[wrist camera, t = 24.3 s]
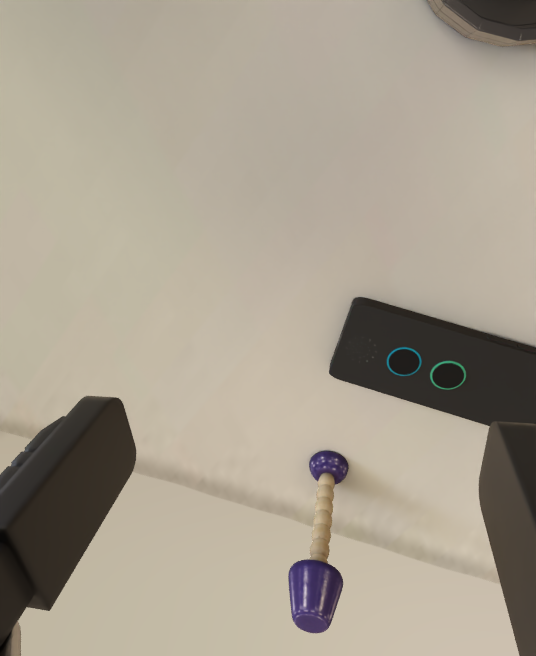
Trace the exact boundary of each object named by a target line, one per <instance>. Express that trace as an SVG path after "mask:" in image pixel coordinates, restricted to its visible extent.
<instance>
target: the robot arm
mask: <svg viewBox="0 0 536 656" xmlns="http://www.w3.org/2000/svg"><path fill="white" fill-rule="evenodd" d="M135 461H136V447H135V443H134V440H133V436H132V433H131V429H130V426H129V422H128V419H127V415H126V412H125V409H124V405H123V403H122V401H121V400H120V399H119V398H114V397H98V396H86V397H84V398H82V399H81V400H80V401H79V402H78V403H77V404H76V406H75V407H74V408H73V409H72V410H71V411H70V412H69V413H68V414H67V416H66V417H65V416H62V417H61V418H59V419H58V420H56V421H55V422H53V423H52V424H50V425H49V426H47V427H46V428H44V429H43V430H41V431H40V432H39V433H38V434H37V435H36V437H35V438H34V439H33V440H32V441H31V442H30V443H29V444H28V445H27V446H26V447H25V451H24V452H21V453H20V454H19V455H18V456H17V457H16V458H15V459H14V460H13V461H12V465H11V466H8V467H7V468H6V469H5V470H4V471H3V472H2V473H1V475H0V656H21V631H20V625H19V623H18V620H19V618H20V616H21V615H22V613H23V612H24V610H25V608H26V607H30V608H36V609H42V610H48V611H50V609H51V608H52V606H53V604H54V603H55V601H56V599H57V598H58V596H59V594H60V593H61V591H62V589H63V587H64V586H65V584H66V583H67V581H68V579H69V578H70V576H71V574H72V572H73V571H74V569H75V567H76V566H77V564H78V562H79V561H80V559H81V557H82V556H83V554H84V552H85V551H86V549H87V547H88V546H89V544H90V542H91V541H92V539H93V537H94V536H95V534H96V532H97V531H98V529H99V527H100V526H101V524H102V522H103V521H104V519H105V517H106V515H107V514H108V512H109V510H110V508H111V507H112V505H113V504H114V502H115V500H116V499H117V497H118V495H119V494H120V492H121V490H122V488H123V487H124V485H125V484H126V482H127V480H128V479H129V477H130V475H131V473H132V471H133V469H134V465H135ZM479 499H480V506H481V511H482V515H483V518H484V522H485V526H486V530H487V534H488V537H489V541H490V545H491V549H492V552H493V556H494V560H495V564H496V568H497V571H498V575H499V579H500V583H501V587H502V590H503V594H504V598H505V602H506V605H507V609H508V613H509V617H510V621H511V625H512V628H513V632H514V636H515V640H516V643H517V647H518V651H519V655H520V656H536V424H530V423H513V422H497V421H494V422H492V423H491V425H490V428H489V432H488V437H487V442H486V447H485V452H484V457H483V462H482V467H481V472H480V477H479Z"/></svg>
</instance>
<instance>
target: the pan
mask: <svg viewBox="0 0 536 656" xmlns="http://www.w3.org/2000/svg"><path fill="white" fill-rule="evenodd" d="M427 2H428V3H429V5H430V7H431V8H432V10H433V11H434V13H435V14H436V15H437V16H438V17H439V18H441V19H442V20H443V21H444V22H446V23H447V24H448V25H450V26H451V27H452V28H454V29H455V30H456V31H458V32H459V33H460V34H462V35H463V36H464V37H466V38H470V39H474V40H478V41H481V42H485V43H489V44H493V45H497V46H500V47H501V46H502V47H505V46H515V45H525V44H535V43H536V0H427Z"/></svg>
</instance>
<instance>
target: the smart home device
mask: <svg viewBox="0 0 536 656" xmlns="http://www.w3.org/2000/svg"><path fill="white" fill-rule="evenodd" d="M329 374H330V375H331V376H333V377H334V378H337V379H339V380H342V381H345V382H349V383H352V384H355V385H358V386H362V387H365V388H368V389H371V390H375V391H378V392H381V393H384V394H388V395H391V396H394V397H397V398H401V399H404V400H407V401H410V402H414V403H417V404H420V405H423V406H426V407H430V408H433V409H436V410H439V411H443V412H446V413H449V414H452V415H456V416H459V417H462V418H465V419H469V420H472V421H475V422H478V423H482V424H485V425H488V426H490V425H491V423H492V422H494V421H497V422H513V423H530V424H536V348H534V347H531V346H527V345H524V344H521V343H517V342H514V341H510V340H507V339H504V338H500V337H497V336H493V335H490V334H487V333H483V332H480V331H476V330H473V329H470V328H466V327H463V326H459V325H456V324H453V323H449V322H446V321H442V320H439V319H436V318H432V317H429V316H425V315H422V314H419V313H415V312H412V311H408V310H405V309H402V308H398V307H395V306H391V305H388V304H385V303H381V302H378V301H374V300H371V299H368V298H361V297H359V298H355V299H353V302H352V305H351V308H350V310H349V313H348V316H347V319H346V321H345V324H344V327H343V330H342V333H341V335H340V338H339V341H338V344H337V346H336V349H335V352H334V355H333V357H332V360H331V363H330V370H329Z"/></svg>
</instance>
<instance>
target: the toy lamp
mask: <svg viewBox="0 0 536 656" xmlns="http://www.w3.org/2000/svg"><path fill="white" fill-rule="evenodd" d="M309 467H310V471H311V474H312V476H313V477H314V478H315V479H316V480H317V481H318V487H319V488H318V491H317V502H316V504H315V512H316V514H315V516H314V529H313V531H312V541H313V542H312V544H311V547H310V555H311V557H310V559H309V560H301V561H298V562H296V563H295V564H293V566H292V567H291V568H290V571H289V591H290V601H291V612H292V618H293V621H294V623H295V624H296V625H297V627H298V628H300V629H302V630H304V631H306V632H310V633H321V632H324V631H326V630H327V629H328V628H329V626H330V624H331V621H332V618H333V615H334V612H335V609H336V606H337V603H338V600H339V597H340V594H341V591H342V587H343V579H342V576H341V574H340V572H339V571H338V570H337V569H336V568H335V567H333V566H332V565H329V564H328V562H327V558H328V555H329V545H328V544H329V542H330V538H331V533H330V528H331V525H332V517H331V514H332V512H333V504H332V501H333V498H334V492H333V489H334V485H336V484H338V483H340V482H341V481H342V480H343V479H344V478H345V477H346V475H347V472H348V463H347V461H346V460H345V458H344V457H343V456H341V455H340V454H337V453H335V452H330V451H323V452H319V453H317V454H315V455H314V456H313V457H312V458H311V460H310V463H309Z"/></svg>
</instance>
